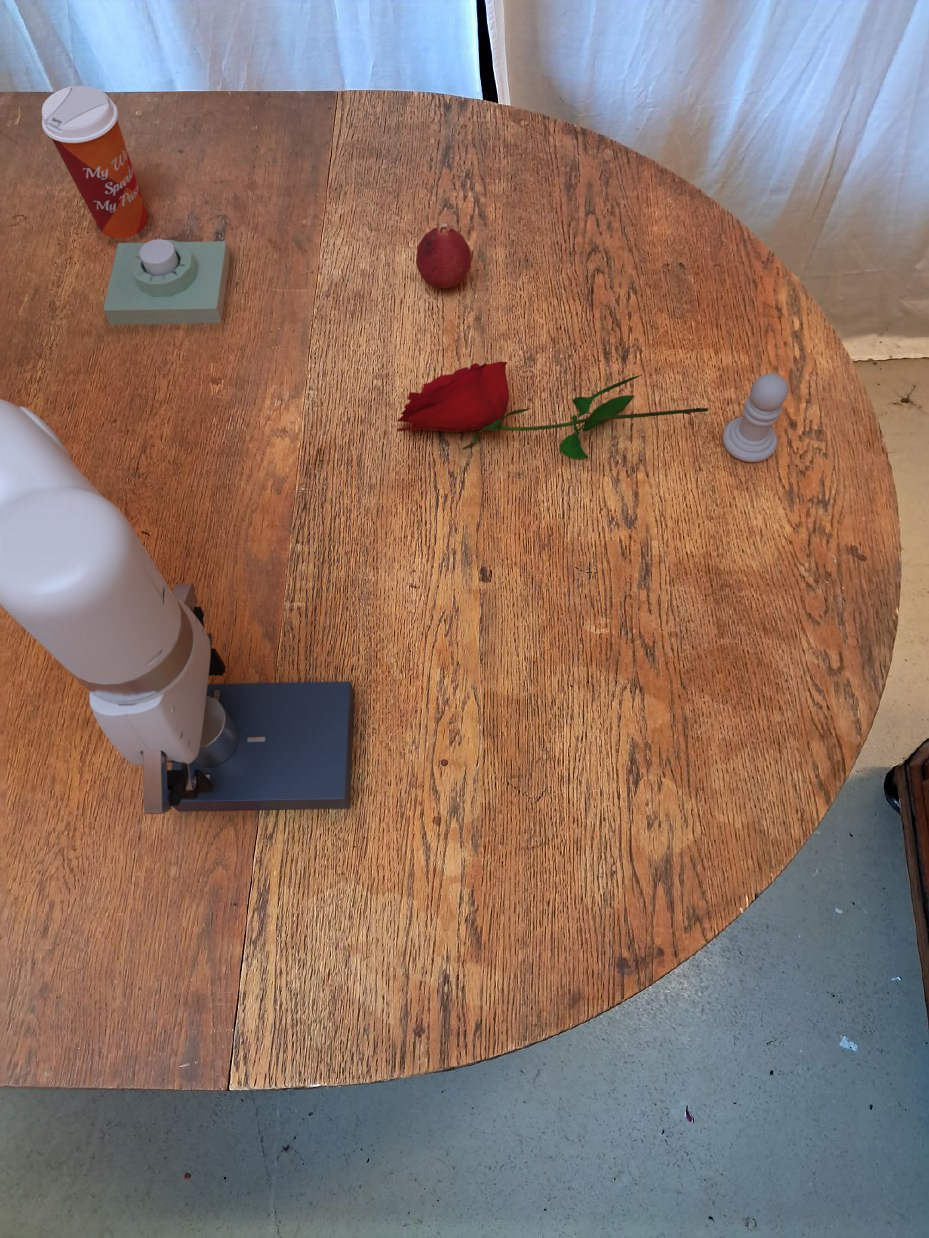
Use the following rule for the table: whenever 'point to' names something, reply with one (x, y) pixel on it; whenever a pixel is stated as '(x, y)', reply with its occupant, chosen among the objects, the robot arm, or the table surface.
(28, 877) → the table surface
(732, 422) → the chess piece
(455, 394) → the flower
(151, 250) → the white push button
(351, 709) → the dial panel
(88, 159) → the paper cup
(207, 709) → the dial
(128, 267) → the push button box
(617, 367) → the table surface
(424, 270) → the red round fruit
